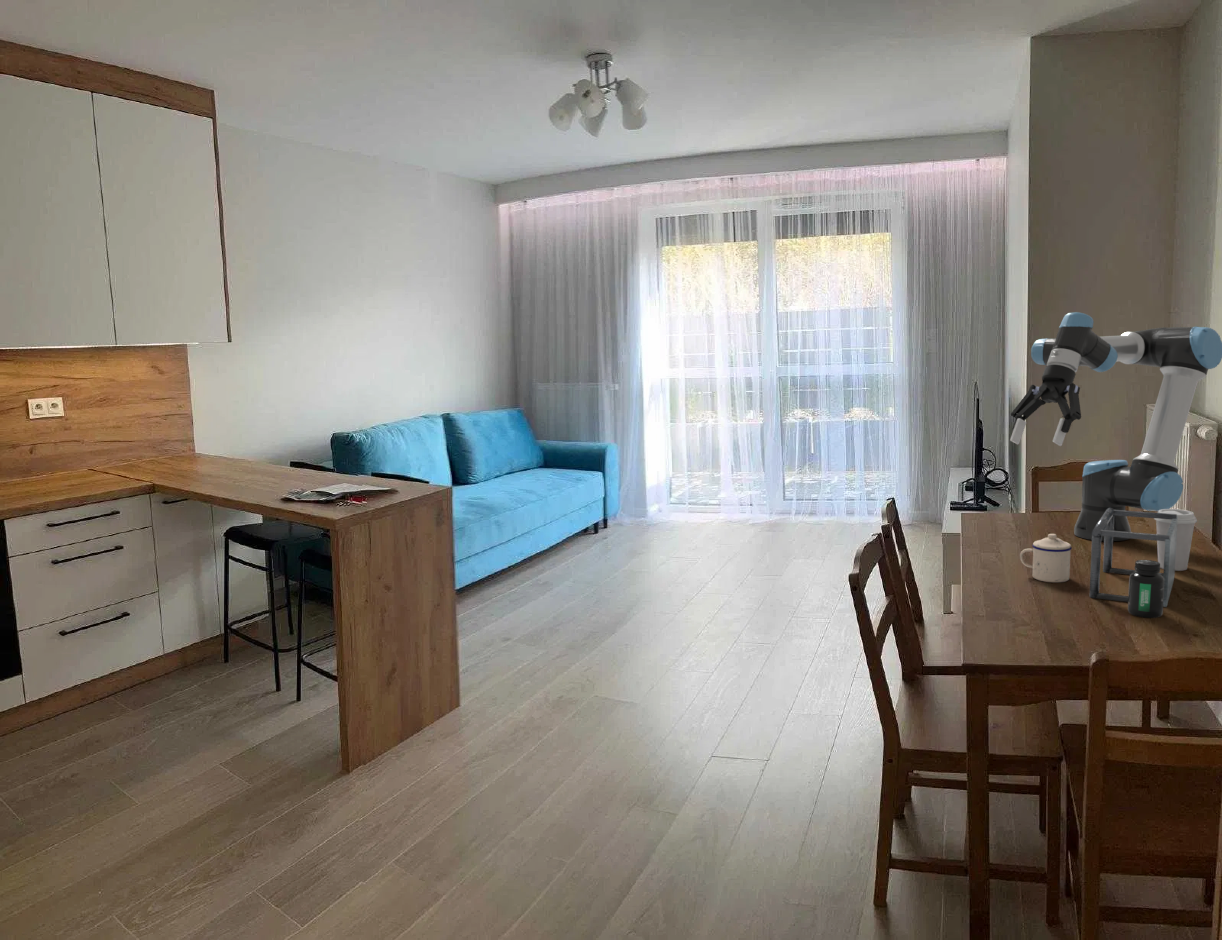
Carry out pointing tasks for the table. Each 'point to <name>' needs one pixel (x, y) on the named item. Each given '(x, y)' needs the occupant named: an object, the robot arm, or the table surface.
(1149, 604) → the supplement bottle
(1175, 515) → the box
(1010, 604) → the table surface
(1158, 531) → the coffee cup
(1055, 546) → the teacup with lid
